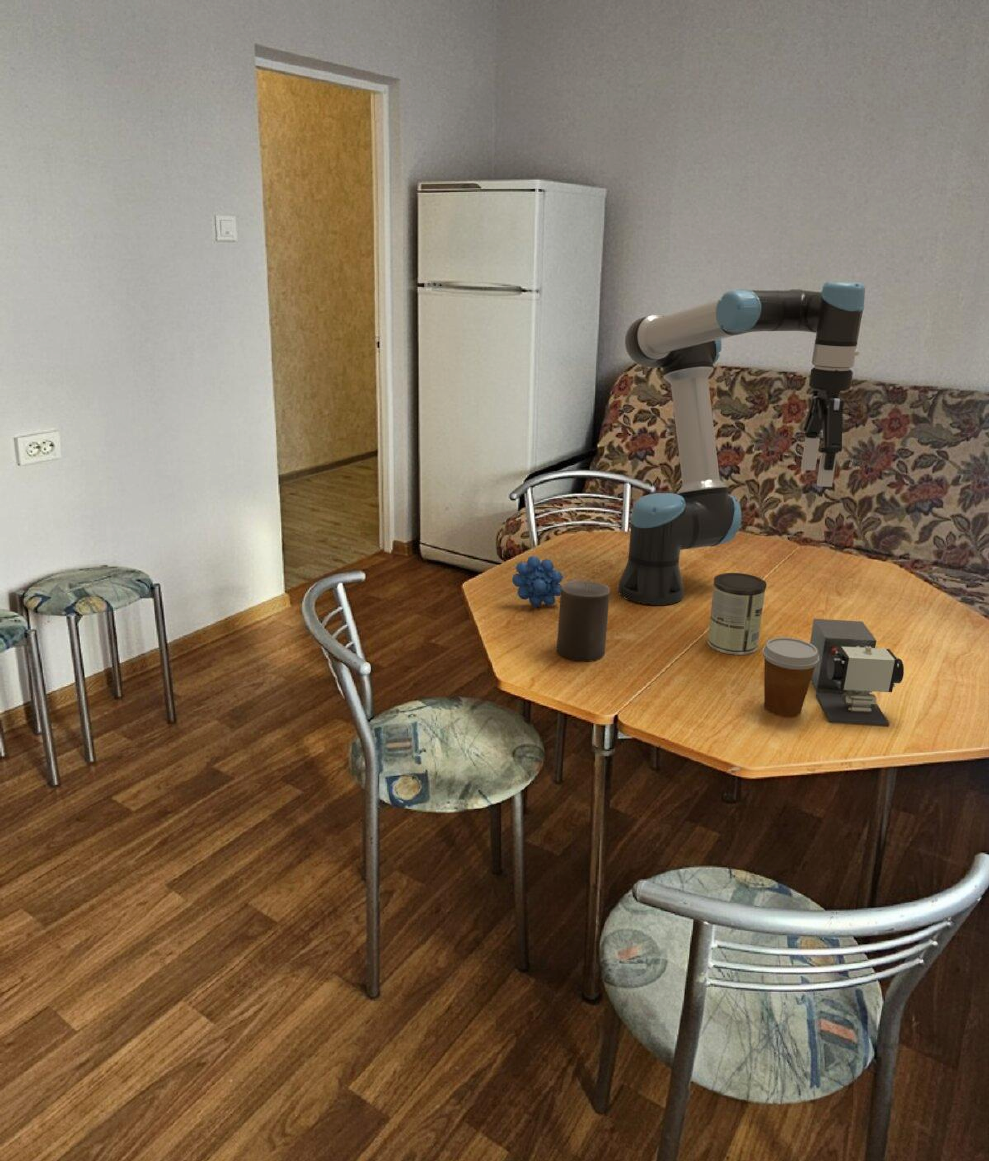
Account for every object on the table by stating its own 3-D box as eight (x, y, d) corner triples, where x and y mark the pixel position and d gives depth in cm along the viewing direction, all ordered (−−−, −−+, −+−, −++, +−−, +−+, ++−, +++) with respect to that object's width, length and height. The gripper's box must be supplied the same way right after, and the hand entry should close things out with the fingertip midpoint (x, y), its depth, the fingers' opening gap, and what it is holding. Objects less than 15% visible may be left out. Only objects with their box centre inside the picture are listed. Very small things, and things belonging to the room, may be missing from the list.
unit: (817, 693, 167) (826, 638, 163) (805, 670, 176) (813, 618, 172) (867, 696, 166) (877, 642, 162) (852, 673, 175) (862, 620, 171)
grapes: (513, 614, 199) (515, 562, 195) (509, 602, 206) (511, 552, 201) (565, 613, 200) (568, 562, 196) (560, 602, 207) (563, 552, 203)
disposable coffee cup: (748, 712, 159) (756, 650, 155) (763, 691, 167) (772, 632, 163) (802, 727, 155) (813, 664, 150) (816, 705, 162) (826, 644, 158)
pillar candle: (575, 665, 175) (581, 593, 170) (546, 647, 183) (551, 577, 178) (614, 656, 180) (621, 585, 175) (585, 638, 188) (590, 570, 183)
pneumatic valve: (895, 717, 158) (908, 654, 153) (827, 713, 158) (838, 651, 154) (885, 702, 163) (896, 641, 159) (818, 698, 163) (829, 637, 159)
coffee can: (709, 632, 193) (716, 569, 188) (759, 639, 190) (768, 576, 185) (703, 650, 183) (711, 585, 179) (756, 658, 180) (765, 593, 176)
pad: (829, 722, 157) (829, 719, 156) (815, 695, 166) (815, 692, 166) (888, 726, 156) (889, 723, 155) (871, 699, 165) (872, 696, 165)
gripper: (872, 377, 159) (852, 494, 166) (835, 360, 182) (820, 464, 189) (828, 375, 159) (810, 492, 167) (797, 359, 183) (783, 462, 190)
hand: (815, 477), depth 178 cm, fingers open, 13 cm apart
